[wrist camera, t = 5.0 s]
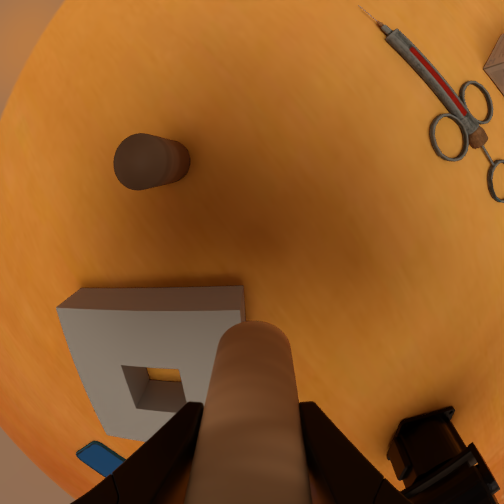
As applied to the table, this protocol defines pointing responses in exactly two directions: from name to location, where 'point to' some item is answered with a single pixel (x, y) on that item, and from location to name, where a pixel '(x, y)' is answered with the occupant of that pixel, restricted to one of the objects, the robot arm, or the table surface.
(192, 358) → the socket block
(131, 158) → the wenge pin
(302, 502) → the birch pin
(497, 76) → the light bulb box
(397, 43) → the syringe
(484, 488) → the robot arm
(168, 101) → the table surface
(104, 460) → the smartphone
